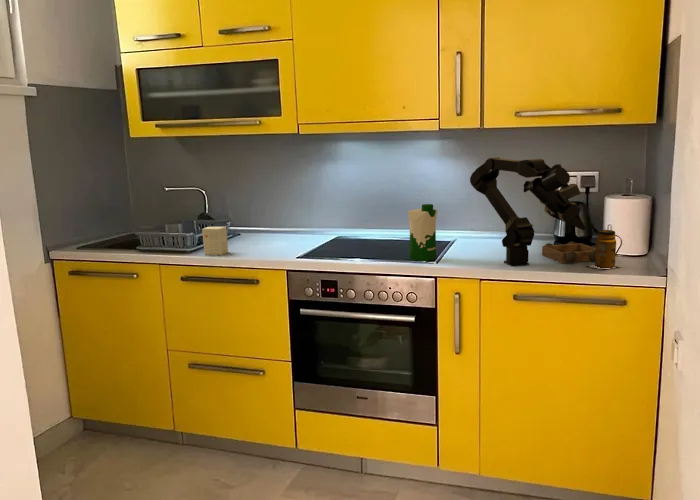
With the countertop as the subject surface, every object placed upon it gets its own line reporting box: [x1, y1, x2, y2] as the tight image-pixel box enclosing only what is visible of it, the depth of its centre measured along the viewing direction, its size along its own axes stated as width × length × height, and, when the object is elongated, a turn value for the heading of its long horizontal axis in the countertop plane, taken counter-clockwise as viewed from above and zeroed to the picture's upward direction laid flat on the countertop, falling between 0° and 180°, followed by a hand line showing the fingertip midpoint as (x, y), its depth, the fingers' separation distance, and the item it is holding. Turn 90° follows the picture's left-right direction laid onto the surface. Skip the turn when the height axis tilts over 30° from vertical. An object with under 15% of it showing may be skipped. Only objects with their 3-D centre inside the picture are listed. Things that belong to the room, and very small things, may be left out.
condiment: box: [585, 229, 617, 268], centre depth 202 cm, size 7×8×12 cm
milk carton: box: [407, 203, 438, 262], centre depth 222 cm, size 9×9×20 cm
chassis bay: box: [541, 241, 596, 264], centre depth 218 cm, size 15×16×4 cm
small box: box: [201, 226, 229, 256], centre depth 247 cm, size 8×6×10 cm
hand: (579, 226), depth 201 cm, fingers open, 9 cm apart
